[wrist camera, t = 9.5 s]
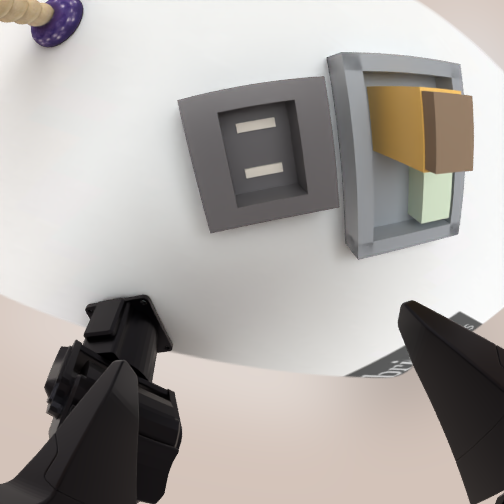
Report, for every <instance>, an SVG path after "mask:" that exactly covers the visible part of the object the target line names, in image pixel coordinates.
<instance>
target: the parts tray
mask: <svg viewBox="0 0 504 504" xmlns="http://www.w3.org/2000/svg"><path fill="white" fill-rule="evenodd" d="M327 61H328V67H329V73H330V78H331V85H332V91H333V98H334V104H335V112H336V119H337V127H338V136H339V145H340V155H341V166H342V178H343V193H344V210H345V235H346V244H347V246H348V247H349V248H350V250H351V251H352V252H353V254H354V255H355V256H356V257H357V259H358V260H359V259H363V258H367V257H371V256H375V255H379V254H383V253H388V252H392V251H396V250H400V249H404V248H408V247H412V246H416V245H419V244H423V243H427V242H431V241H435V240H439V239H442V238H446V237H450V236H454V235H457V234H458V232H459V225H460V218H461V210H462V201H463V190H464V176H465V171H463V172H453V173H452V188H451V201H450V211H449V218H445V219H440V220H436V221H431V222H427V223H422V224H421V223H420V222H418V221H417V220H416V219H414V218H413V217H412V216H410V215H409V214H408V195H409V166H408V165H406V164H403V163H401V162H399V161H397V160H394V159H392V158H390V157H387V156H385V155H383V154H380V153H378V152H375V151H373V144H372V131H371V120H370V110H369V102H368V94H367V86H412V87H429V88H439V89H448V90H456V91H461V95H464V93H463V82H462V74H461V66H460V64H457V63H452V62H447V61H441V60H435V59H429V58H421V57H414V56H405V55H394V54H381V53H357V52H341V53H338V54H335V55H332V56H330V57H327Z"/></svg>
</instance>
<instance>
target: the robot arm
mask: <svg viewBox="0 0 504 504" xmlns="http://www.w3.org/2000/svg"><path fill="white" fill-rule="evenodd" d="M142 300H144V301H146V302H143V301H142ZM91 310H92V311H91ZM85 311H86V313H87V315H88V316H89V318H90V321H89V323H88V326H87V328H86V330H85V333H84V337H85V340H84V343H83V345H82V343H81V342H79V341H78V340H75V342H74V344H73V345H72V346H69V347H61V348H60V350H59V352H58V354H57V356H56V359H55V361H54V363H53V366H52V368H51V370H50V373H49V376H48V378H47V381H46V384H45V387H44V388H45V391H46V393H47V396H48V399H47V403H48V407H47V412H46V413H47V414H49V415H51V416H53V420H52V423H51V427H50V429H49V440H48V442H47V443H46V444H45V445H44V446H43V448H42V449H41V450H40V451H39V452H38V453H37V455H36V456H35V457H34V458H33V459H32V460H31V461H30V462H29V463H28V464H27V465H26V466H25V467H24V469H23V470H22V471H21V472H20V473H19V474H18V475H17V476H16V477H15V478H14V479H12V480H11V481H9V482H7V483H3V484H0V504H137V503H138V502H140V501H141V502H145V503H150V504H156V503H157V502H158V501H159V500H160V499H161V497H162V496H163V495H164V493H165V488H166V483H167V478H168V474H169V471H170V468H171V465H172V463H173V461H174V459H175V457H176V456H177V454H178V452H179V447H180V444H181V439H182V427H181V422H180V417H179V413H178V408H177V403H176V398H175V393H174V392H173V391H171V390H169V389H167V390H166V389H164V388H162V387H160V386H158V385H156V384H154V383H152V379H153V373H154V367H155V361H156V355H157V353H159V352H167V351H171V350H172V347H173V344H172V342H171V340H170V338H169V337H168V335H167V333H166V331H165V329H164V327H163V325H162V323H161V321H160V319H159V317H158V315H157V313H156V311H155V308H154V306H153V304H152V302H151V300H150V298H149V297H148V296H146V295H139V296H134V297H128V298H118V299H113V300H107V301H102V302H98V303H94V304H89V305H87V307H86V309H85ZM398 327H399V330H400V333H401V335H402V338H403V340H404V343H405V345H406V348H407V351H408V353H409V356H410V359H411V361H412V364H413V366H414V368H415V370H416V372H417V374H418V376H419V378H420V380H421V382H422V384H423V387H424V389H425V391H426V393H427V395H428V397H429V399H430V401H431V403H432V406H433V408H434V410H435V412H436V415H437V417H438V419H439V421H440V424H441V426H442V428H443V431H444V433H445V435H446V438H447V440H448V443H449V445H450V447H451V450H452V453H453V455H454V458H455V460H456V463H457V466H458V469H459V472H460V474H461V477H462V480H463V483H464V486H465V489H466V492H467V495H468V498H469V501H470V504H477V503H479V502H481V501H484V500H486V499H488V498H490V497H492V496H494V495H496V494H498V493H500V492H501V491H503V490H504V349H503V348H501V347H499V346H496V345H495V344H494V343H492V342H490V341H488V340H487V339H485V338H483V337H481V336H479V335H478V334H475V333H474V332H472V331H470V330H468V329H467V328H465V327H463V326H461V325H459V324H457V323H455V322H454V321H452V320H450V319H448V318H446V317H444V316H442V315H441V314H439V313H437V312H435V311H433V310H431V309H429V308H427V307H425V306H423V305H421V304H420V303H418V302H416V301H413V300H411V301H408V302H405V303H403V304H402V305H401V307H400V313H399V318H398ZM168 346H169V347H168ZM495 504H504V493H503V494H502V495H500V496H499V497H498V498H497V500H496V503H495Z"/></svg>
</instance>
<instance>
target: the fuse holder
mask: <svg viewBox="0 0 504 504" xmlns="http://www.w3.org/2000/svg"><path fill="white" fill-rule="evenodd" d="M177 101H178V105H179V110H180V114H181V118H182V123H183V127H184V131H185V135H186V140H187V144H188V148H189V152H190V156H191V160H192V164H193V168H194V172H195V176H196V180H197V184H198V188H199V192H200V196H201V200H202V203H203V207H204V211H205V215H206V218H207V222H208V226H209V230H210V233H214V232H219V231H223V230H228V229H233V228H237V227H242V226H247V225H252V224H257V223H262V222H266V221H271V220H276V219H281V218H286V217H291V216H296V215H302V214H307V213H312V212H317V211H322V210H328V209H333V208H339V196H338V183H337V171H336V160H335V151H334V141H333V133H332V125H331V117H330V110H329V103H328V96H327V90H326V84H325V78H324V76H321V77H308V78H297V79H287V80H279V81H271V82H264V83H257V84H251V85H245V86H239V87H234V88H229V89H223V90H219V91H214V92H209V93H205V94H201V95H196V96H192V97H188V98H184V99H181V100H177Z"/></svg>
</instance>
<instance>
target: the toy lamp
mask: <svg viewBox="0 0 504 504" xmlns="http://www.w3.org/2000/svg"><path fill="white" fill-rule="evenodd" d="M82 14H83V6H82V3H81V2H80V0H48V1H47V2H46V3H39V2H38V1H37V0H0V21H2V22H15V23H17V24H29V25H31V33H32V37H33V39H34V40H35V41H36V42H37V43H38V44H39V45H41V46H44V47H53V46H56V45H58V44H60V43H62V42H63V41H65V40H66V39H67V38H68V37H69V36H70V35H71V34H72V33H73V32H74V31H75V29H76V28H77V26H78V24H79V23H80V20H81V17H82Z"/></svg>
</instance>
